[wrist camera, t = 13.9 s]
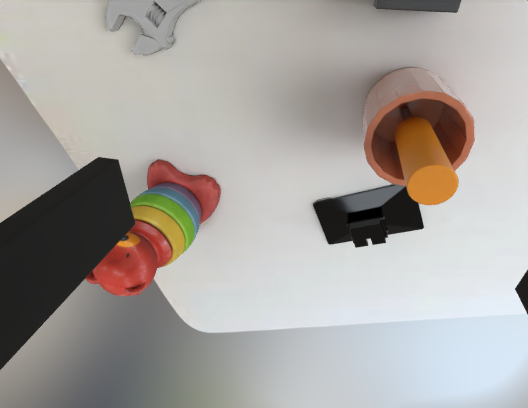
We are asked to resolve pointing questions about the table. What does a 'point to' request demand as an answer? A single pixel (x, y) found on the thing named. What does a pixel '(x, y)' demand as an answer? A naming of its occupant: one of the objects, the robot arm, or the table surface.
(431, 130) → the orange round dowel
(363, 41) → the table surface
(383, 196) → the build plate
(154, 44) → the adjustable wrench
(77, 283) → the robot arm
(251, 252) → the table surface
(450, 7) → the holder
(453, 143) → the pen cup
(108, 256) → the stacking bear
